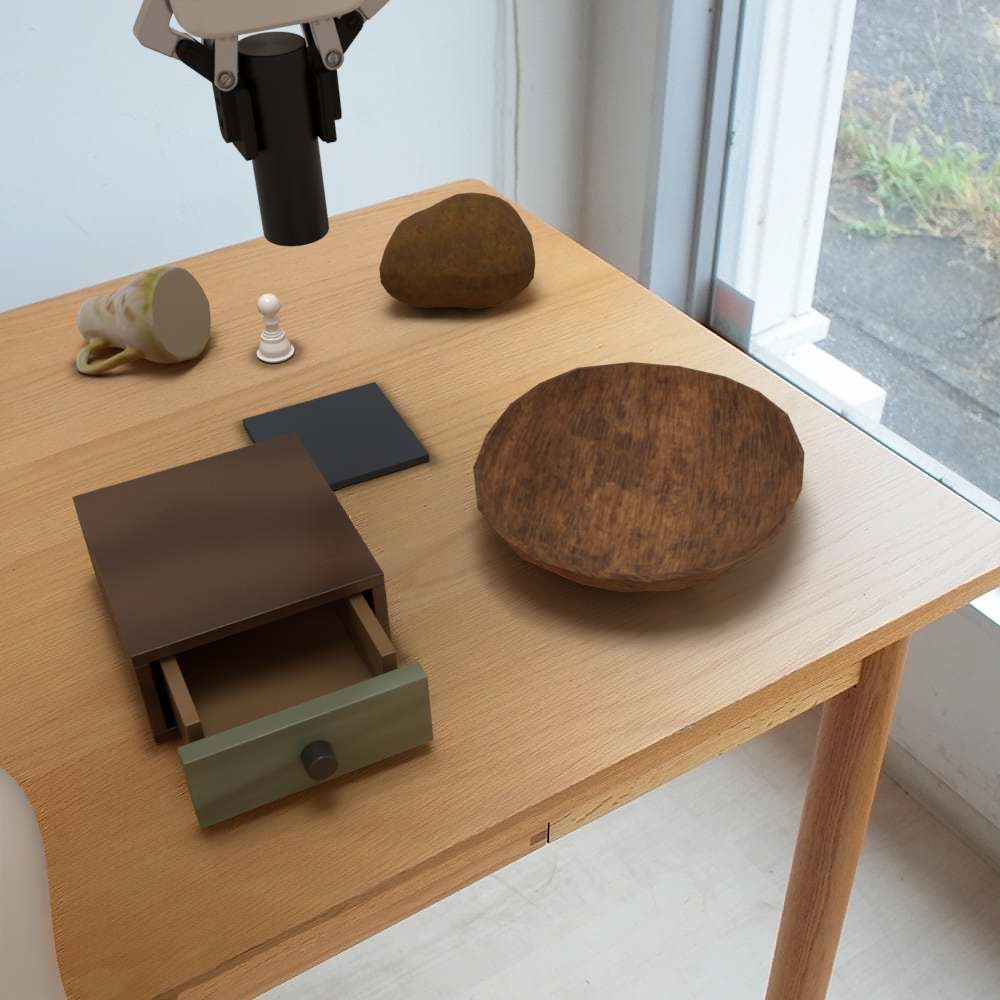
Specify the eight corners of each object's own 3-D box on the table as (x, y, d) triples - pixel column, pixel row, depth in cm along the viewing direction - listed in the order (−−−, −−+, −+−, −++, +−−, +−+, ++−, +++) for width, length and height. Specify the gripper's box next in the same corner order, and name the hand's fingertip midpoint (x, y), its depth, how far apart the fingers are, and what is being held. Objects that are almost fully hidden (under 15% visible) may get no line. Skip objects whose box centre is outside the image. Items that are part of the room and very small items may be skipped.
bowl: (427, 605, 78) (422, 540, 75) (539, 402, 94) (538, 341, 91) (761, 676, 72) (770, 609, 69) (819, 448, 89) (828, 385, 86)
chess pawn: (250, 360, 99) (240, 302, 96) (267, 341, 102) (257, 284, 98) (284, 366, 99) (275, 308, 96) (300, 346, 101) (292, 289, 98)
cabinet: (394, 660, 74) (384, 572, 70) (156, 745, 70) (130, 657, 66) (308, 515, 85) (295, 431, 81) (97, 581, 80) (71, 496, 76)
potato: (395, 271, 110) (386, 172, 104) (538, 271, 109) (537, 172, 103) (382, 323, 103) (371, 221, 98) (534, 324, 102) (532, 221, 97)
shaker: (275, 252, 75) (246, 61, 68) (255, 225, 78) (225, 39, 71) (338, 237, 76) (315, 47, 69) (316, 211, 79) (292, 26, 72)
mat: (288, 504, 86) (287, 497, 85) (243, 425, 93) (242, 418, 92) (430, 461, 89) (429, 453, 89) (375, 388, 96) (375, 381, 96)
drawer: (443, 756, 68) (437, 691, 65) (207, 847, 64) (190, 782, 61) (343, 585, 78) (334, 522, 75) (136, 654, 74) (117, 590, 71)
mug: (104, 320, 105) (146, 218, 100) (197, 394, 104) (245, 295, 99) (39, 345, 99) (81, 238, 94) (137, 424, 98) (185, 320, 93)
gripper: (69, -191, 57) (153, 202, 68) (426, -235, 62) (448, 136, 74) (37, -220, 62) (120, 149, 74) (368, -258, 67) (397, 91, 79)
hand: (283, 139), depth 73 cm, fingers closed on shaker, 3 cm apart
